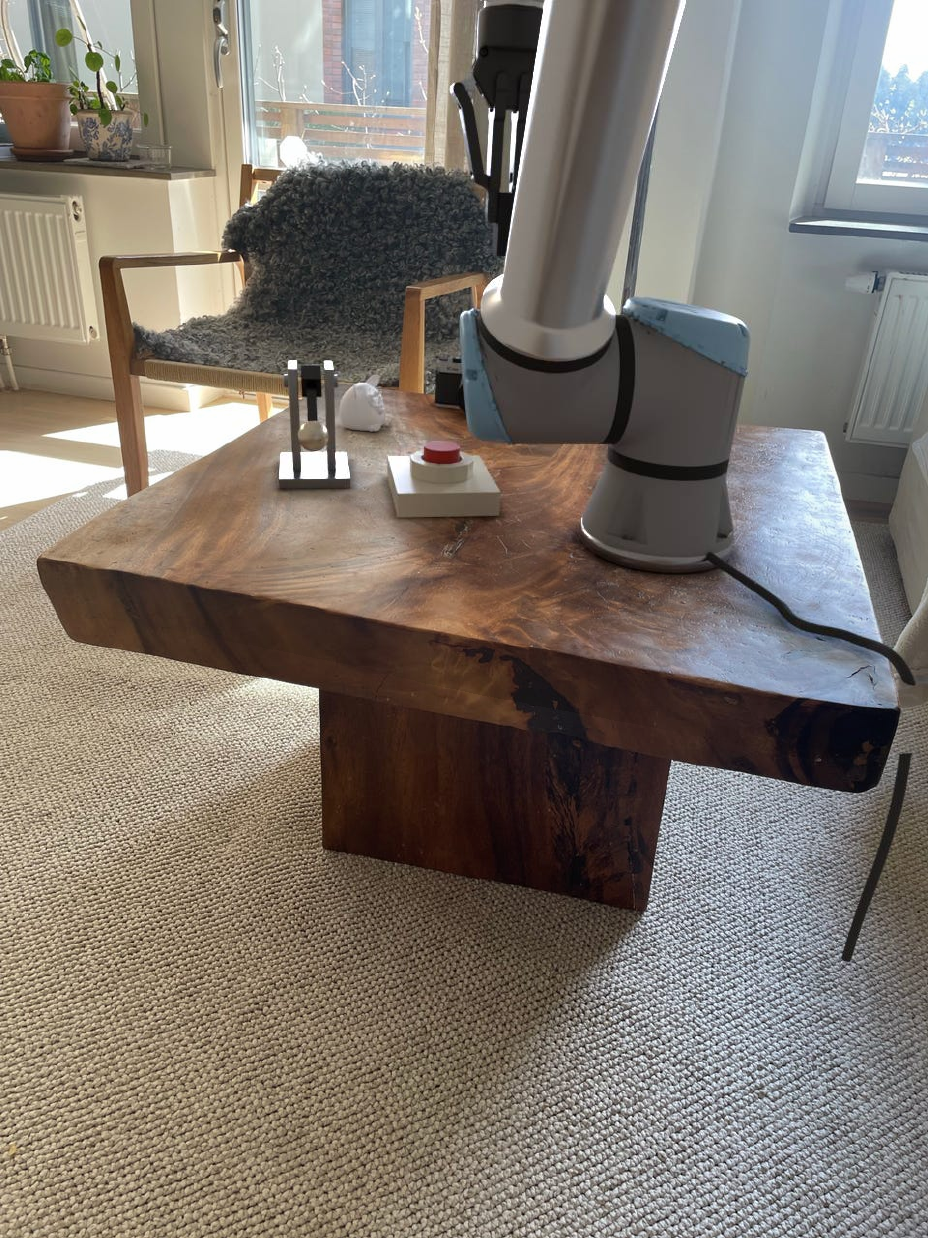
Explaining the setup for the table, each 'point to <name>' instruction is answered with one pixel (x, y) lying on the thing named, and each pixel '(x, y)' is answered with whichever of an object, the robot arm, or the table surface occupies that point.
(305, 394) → the lever
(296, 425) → the grey metal frame
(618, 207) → the robot arm
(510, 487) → the table surface
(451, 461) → the stop button
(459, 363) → the camera
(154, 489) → the table surface
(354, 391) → the figurine
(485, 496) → the control block
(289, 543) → the table surface
